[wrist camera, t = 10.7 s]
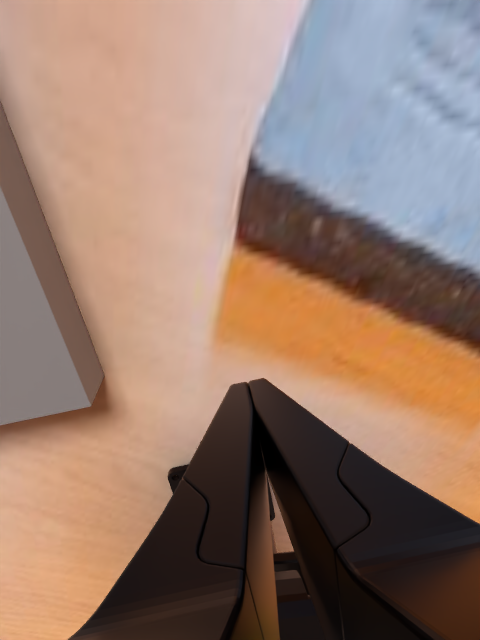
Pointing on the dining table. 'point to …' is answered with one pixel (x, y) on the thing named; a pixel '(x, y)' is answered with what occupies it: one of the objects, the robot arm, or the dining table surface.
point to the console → (36, 307)
